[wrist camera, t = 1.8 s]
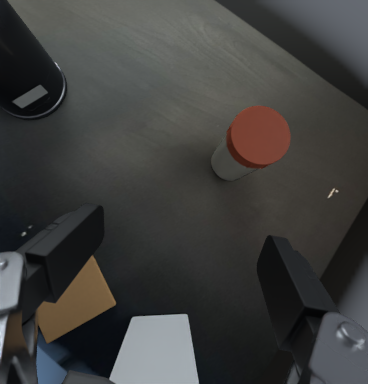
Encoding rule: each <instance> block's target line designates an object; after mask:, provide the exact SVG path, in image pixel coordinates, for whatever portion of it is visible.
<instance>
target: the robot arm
mask: <svg viewBox="0 0 368 384" xmlns="http://www.w3.org/2000/svg"><path fill="white" fill-rule="evenodd" d="M66 92H67V82H66V78H65V76H64V74H63V72H62V70H61V69H60V68H59V66H58V65H57V64H56V63H55V62H54V61H53V60H52V59H51V57H50V56H49V55H48V53H47V52H46V51H45V49H44V48H43V47H42V45H41V44H40V43H39V41H38V40H37V39H36V37H35V36H34V35H33V34H32V32H31V31H30V30H29V28H28V27H27V26H26V24H25V23H24V22H23V21H22V19H21V18H20V17H19V15H18V14H17V13H16V11H15V10H14V9H13V7H12V6H11V5H10V4H9V2H8V1H7V0H0V107H1V108H2V109H4V110H5V111H6V112H8V113H10V114H11V115H13V116H15V117H18V118H21V119H28V120H33V119H40V118H43V117H46V116H48V115H50V114H51V113H53V112H54V111H55V110H57V109H58V108H59V106H60V105H61V104H62V102H63V100H64V98H65V96H66ZM103 237H104V212H103V207H102V206H101V205H95V204H89V203H85V204H83V205H82V206H81V207H79V208H78V209H77V210H76V211H71V212H69V213H67V214H64V215H62V216H60V217H59V218H58V219H56V220H55V221H54V222H52V224H50V225H48V226H47V227H46V228H45V230H42V231H41V232H39V233H38V234H37V235H35V236H34V237H33V238H32V239H30V240H29V241H28V242H26V243H25V244H24V245H23V246H21V247H20V248H19V249H17V250H16V251H15V252H1V253H0V384H38V378H37V369H36V356H37V334H38V308H39V306H40V305H41V304H42V303H43V302H49V303H54V304H56V302H57V301H58V300H59V298H60V297H61V296H62V294H63V293H64V292H65V290H66V289H67V288H68V287H69V285H70V284H71V283H72V281H73V280H74V279H75V277H76V276H77V275H78V273H79V272H80V271H81V269H82V268H83V267H84V265H85V264H86V263H87V261H88V260H89V259H90V258H91V256H92V255H93V254H94V252H95V251H96V250H97V248H98V247H99V246H100V244H101V243H102V240H103ZM257 274H258V277H259V281H260V284H261V288H262V291H263V295H264V298H265V302H266V305H267V309H268V312H269V315H270V319H271V322H272V326H273V329H274V333H275V336H276V340H277V343H278V347H279V349H280V350H286V351H290V352H292V354H293V357H294V361H293V362H292V364H291V367H290V369H289V372H288V375H287V378H286V380H285V383H284V384H368V332H367V331H366V330H365V329H364V328H363V327H362V326H361V325H359V324H358V323H357V322H355V321H354V320H352V319H351V318H349V317H347V316H345V315H343V314H340V312H339V310H338V309H337V307H336V306H335V304H334V302H333V301H332V299H331V298H330V296H329V294H328V293H327V291H326V290H325V288H324V287H323V285H322V283H321V282H320V281H319V280H318V279H319V278H318V277H317V275H316V274H315V272H313V269H312V267H311V266H310V264H309V263H308V261H307V260H306V259H305V258H304V257H303V256H302V255H301V254H300V253H299V252H298V251H294V250H293V248H292V246H291V245H290V243H289V241H288V240H287V239H286V238H282V237H277V236H271V235H269V236H267V238H266V240H265V243H264V245H263V248H262V251H261V253H260V256H259V258H258V262H257ZM62 384H115V383H114V382H112V381H111V380H109V379H108V378H104V377H99V376H95V375H90V374H85V373H81V372H76V371H71V370H69V371H68V373H67V375H66V377H65V379H64V381H63V383H62Z"/></svg>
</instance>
